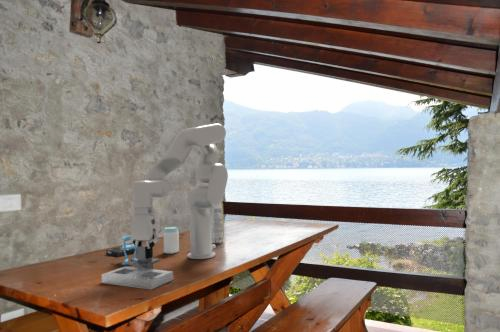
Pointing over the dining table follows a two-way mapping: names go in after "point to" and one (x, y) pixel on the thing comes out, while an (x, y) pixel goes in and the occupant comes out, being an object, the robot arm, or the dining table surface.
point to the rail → (137, 277)
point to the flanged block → (143, 258)
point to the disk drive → (119, 252)
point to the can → (171, 240)
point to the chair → (126, 238)
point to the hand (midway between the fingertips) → (144, 257)
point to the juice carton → (217, 224)
